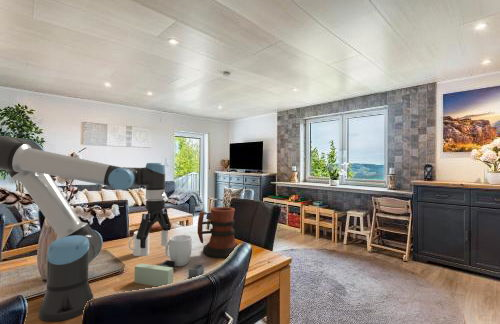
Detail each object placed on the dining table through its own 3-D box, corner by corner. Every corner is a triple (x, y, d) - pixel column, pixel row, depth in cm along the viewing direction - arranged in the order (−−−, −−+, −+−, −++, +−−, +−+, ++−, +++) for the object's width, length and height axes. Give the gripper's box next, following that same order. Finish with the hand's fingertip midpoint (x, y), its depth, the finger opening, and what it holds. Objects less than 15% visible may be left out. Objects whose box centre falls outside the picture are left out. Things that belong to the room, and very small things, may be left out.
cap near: (197, 279, 113) (197, 270, 113) (188, 278, 114) (188, 268, 114) (203, 273, 119) (203, 264, 119) (195, 272, 120) (195, 263, 120)
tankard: (245, 256, 142) (246, 211, 142) (199, 261, 134) (200, 213, 134) (235, 244, 163) (236, 205, 163) (195, 247, 155) (196, 206, 155)
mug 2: (157, 264, 129) (158, 238, 129) (172, 257, 139) (173, 232, 139) (181, 269, 123) (182, 242, 123) (195, 262, 133) (196, 236, 133)
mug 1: (132, 259, 135) (132, 236, 135) (123, 255, 140) (124, 233, 141) (152, 253, 145) (153, 231, 145) (144, 249, 150) (144, 229, 150)
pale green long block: (168, 288, 105) (168, 270, 105) (134, 283, 109) (134, 266, 109) (172, 284, 108) (173, 267, 108) (139, 279, 112) (140, 263, 112)
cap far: (167, 274, 117) (167, 266, 117) (158, 273, 118) (159, 264, 118) (174, 269, 123) (174, 261, 123) (166, 268, 124) (166, 260, 124)
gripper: (143, 204, 96) (142, 262, 96) (179, 196, 120) (178, 242, 120) (126, 203, 98) (125, 259, 98) (164, 195, 122) (164, 241, 122)
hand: (154, 250), depth 109 cm, fingers open, 13 cm apart
